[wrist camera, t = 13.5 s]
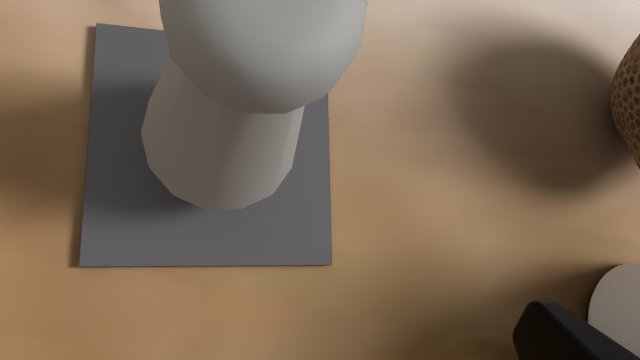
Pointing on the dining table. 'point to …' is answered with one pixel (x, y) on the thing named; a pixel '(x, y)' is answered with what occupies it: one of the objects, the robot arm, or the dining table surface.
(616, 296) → the can
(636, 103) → the natural sponge
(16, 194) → the dining table surface
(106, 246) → the charcoal mat
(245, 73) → the salt shaker
